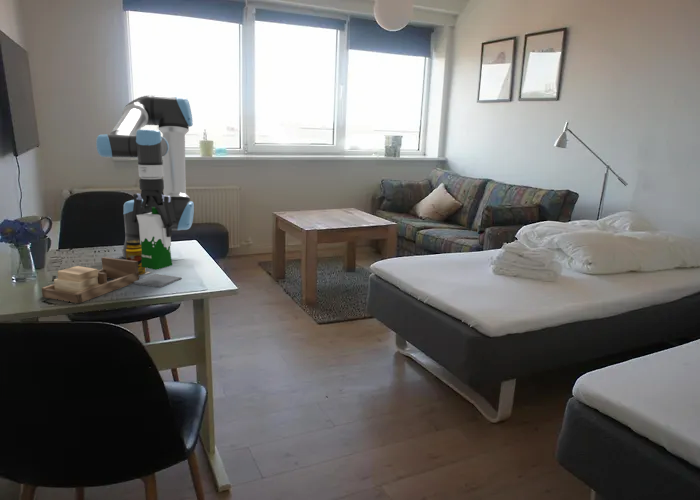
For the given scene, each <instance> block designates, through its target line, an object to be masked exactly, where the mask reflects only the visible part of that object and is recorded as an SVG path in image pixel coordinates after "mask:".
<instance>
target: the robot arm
mask: <svg viewBox="0 0 700 500" xmlns="http://www.w3.org/2000/svg"><path fill="white" fill-rule="evenodd" d="M121 112H122V113H121V114H122V115H121V117H120V118H119V120H118V122H117V123H116V125H114V127H113V129H112V131H111V132H110V133H109V134H107V133H105V134H99V135H98V136H96V140H95V141H96V143H95V144H96V151H97V153H98V155H99V157H102V158H111V159H112V158H134V159H135V158H137V167H138V168H137V169H138V177H139V180H138V183H139V184H138V185H139V186H138V187H139V190H141V191H140V193H133V195H132V196H133V199H131V200H128V201H125V202H124V204H123V214H122V215H123V221H124V232H125V233H124V235H125V238H124V241H123V246H122V247H123V248H122V250H121V253H122V254H121V257H122V259H126V249H127V247H126V246H127V244H126V242H127V241H130V240H140V244H141V237H140V227H139V223H138V219H137V216H136V215H140V214H144V213H151V212H152V207H155V209H157V211H158V213H159V215H160V216H161V219H162V222H163V224H164V228H163V241H164V247H168V246H170V247H171V246H172V239H171V237H172V236H173V231H187V230H189V229H191V227H192V225H193V221H194V214H195V213H194V212H195V205H194V204H195V203H194V201H192V200H191V197H190V196H189V195H188V194H187V188H186V187H187V182H186V178H187V177H186V134H187V133H189V127H192V126H193V122H194V121H193V114H192V110H191V105H190V101H189V100H188V98H187V97H185V96H179V95H178V96H177V95H152V94H151V95H150V94H149V95H143V96H139V97H138V98H135V99H133V100H131V101H130V102H129V103H127V104H126V105H125V107H124V108H123V109H122V111H121ZM145 126H158V129H142V128H143V127H145Z"/></svg>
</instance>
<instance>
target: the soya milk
mask: <svg viewBox="0 0 700 500" xmlns="http://www.w3.org/2000/svg"><path fill="white" fill-rule="evenodd" d="M136 216H137V219H138V223H139V227H140V237H141V250H142V265H141V267H144V268H146V269H150V270H153V271H154V270H155V271H157V270H161V269H165V268H167V267H172V266H173V259H172V253H171V252H172V251H171V246H168V247H164V241H163V228H164V224H163V222H162V219H161V216H160V215H159V213H158V211H157V209H155V207H152V212H151V213H144V214H140V215H136Z"/></svg>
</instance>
